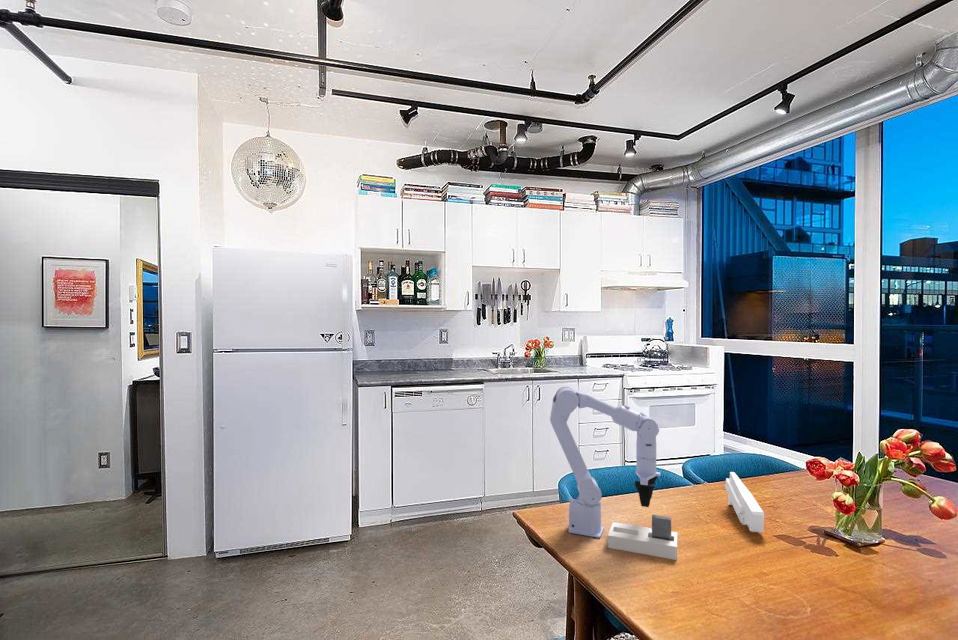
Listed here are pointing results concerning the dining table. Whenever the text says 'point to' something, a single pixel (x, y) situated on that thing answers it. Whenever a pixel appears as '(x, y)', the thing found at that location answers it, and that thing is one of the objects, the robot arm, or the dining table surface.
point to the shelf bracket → (744, 504)
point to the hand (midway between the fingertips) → (646, 502)
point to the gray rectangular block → (661, 527)
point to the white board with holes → (641, 541)
